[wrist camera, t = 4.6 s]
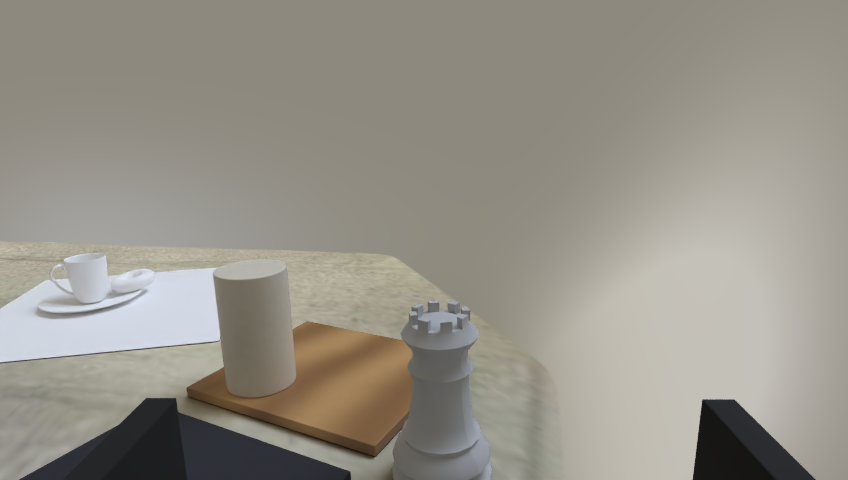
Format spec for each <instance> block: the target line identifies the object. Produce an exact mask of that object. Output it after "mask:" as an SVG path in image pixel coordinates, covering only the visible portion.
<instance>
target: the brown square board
mask: <svg viewBox="0 0 848 480" xmlns="http://www.w3.org/2000/svg"><path fill="white" fill-rule="evenodd" d="M292 331H293V343H294V354H295V366H296V379H295V381H294V382H293V383H292V384H291V385H290V386H289V387H288V388H286V389H284V390H282V391H280V392H278V393H275V394H272V395H269V396H264V397H257V398H244V397H238V396H235V395H233V394H231V393H230V392H229V391H228V390H227V388H226V380H225V371H224V367H223V368H221V369H220V370H218V371H216V372H214V373H212V374H211V375H209V376H207V377H205V378H203V379H201V380H200V381H198V382H196V383H194V384H192V385H191V386H189V387H187V393H188V397H192V398H195V399H198V400H201V401H204V402H207V403H210V404H213V405H217V406H220V407H223V408H226V409H229V410H232V411H235V412H238V413H241V414H245V415H248V416H251V417H254V418H257V419H260V420H263V421H266V422H269V423H273V424H276V425H279V426H282V427H285V428H288V429H291V430H294V431H298V432H301V433H304V434H307V435H310V436H313V437H316V438H319V439H322V440H326V441H329V442H332V443H335V444H338V445H341V446H344V447H347V448H350V449H354V450H357V451H360V452H363V453H366V454H369V455H372V456H376V455H377V454H378V453H379V452H380V451H381V450H382V449H383V448H384V447H385V446H386V444H387V443H388V442H389V441H390V440H391V439H392V438H393V437H394V436H395V435H396V434H397V433H398V432H399V430H400V429H401V428H402V427H403V425H404V423H405V421H406V420H407V419H408V417H409V411H410V403H411V395H412V375H411V374H410V373H409V371H408V368H407V365H408V363H409V361H410V360H411V358H412V350H411V349H410V348H409V347H408V345H407V344H406V343H405V342H404V341H403V340H398V339H393V338H388V337H383V336H378V335H373V334H368V333H363V332H358V331H353V330H348V329H343V328H338V327H333V326H328V325H323V324H318V323H313V322H308V321H307V322H305V323H303V324H301V325H300V326H298V327H296V328H294V329H292Z"/></svg>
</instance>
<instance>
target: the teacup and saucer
mask: <svg viewBox="0 0 848 480" xmlns="http://www.w3.org/2000/svg"><path fill="white" fill-rule="evenodd" d="M56 268H61V269H63V270H65V271H66V273H67V276H68V279H67V280H68V283H69V286H70V288H64V287H63V286H61V285H60V284H59V283H58V282H57V280H55V279H54V277H53V275H52V272H53V270H55V269H56ZM49 275H50V278H51V282H52V283H53V284H54V285H55V286H56V287H57V288H58V289H59V290H60V291H57V292H54V293H52V294H50V295H48V296H46V297H44V298H43V299H41V300H40V301H39V302H38V304H37V308H38V309H39V310H40V311H42V312H45V313H51V314H72V313H82V312H89V311H95V310H100V309H104V308H108V307H112V306H115V305H118V304H121V303H124V302H127V301H129V300H131V299H133V298H135V297H137V296H138V295H139V294H140V293H141V292H142V291H143V289H144V288H146V287H148V286H150V285H151V284H152V283H153V282H154V280H155V273H154V272H152V271H151V270H149V269H138V270H133V271H129V272H126V273H123V274H121V275H117V276H116V277H115V278H113V279H112V280H111V281H109V276H108V272H107V262H106V255H105V254H103V253H88V254H81V255H76V256H72V257H69V258H66V259H65V260H64V264H59V265H56V266H54V267H53V268H52V269H51V270H50V273H49Z"/></svg>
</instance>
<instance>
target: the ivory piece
mask: <svg viewBox="0 0 848 480" xmlns="http://www.w3.org/2000/svg"><path fill="white" fill-rule="evenodd" d="M213 280H214V288H215V297H216V305H217V313H218V322H219V330H220V338H221V346H222V355H223V363H224V371H225V380H226V388H227V390H228V391H229V392H230V393H231V394H233V395H235V396H238V397H244V398H257V397H264V396H269V395H272V394H275V393H278V392H280V391H282V390H284V389H286V388H288V387H289V386H290V385H291V384H292V383H293V382H294V381H295V379H296V366H295V354H294V343H293V331H292V319H291V307H290V296H289V284H288V272H287V265H286V263H284V262H282V261H279V260H273V259H251V260H243V261H237V262H233V263H229V264H226V265H223V266H221V267H219V268H217V269H215V270H214V272H213Z"/></svg>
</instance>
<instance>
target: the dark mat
mask: <svg viewBox="0 0 848 480" xmlns="http://www.w3.org/2000/svg"><path fill="white" fill-rule="evenodd" d="M178 417H179V424H180V431H181V438H182V445H183V452H184V459H185V466H186V474H187V480H351V473H350V471H347V470H344V469H341V468H338V467H335V466H332V465H329V464H327V463H324V462H321V461H318V460H315V459H312V458H309V457H306V456H303V455H300V454H298V453H295V452H292V451H289V450H286V449H283V448H280V447H277V446H274V445H271V444H268V443H266V442H263V441H260V440H257V439H254V438H251V437H248V436H245V435H242V434H239V433H237V432H234V431H231V430H228V429H225V428H222V427H219V426H216V425H213V424H210V423H208V422H205V421H202V420H199V419H196V418H193V417H190V416H187V415H184V414H181V413H179V412H178ZM116 427H117V426H116ZM116 427H114V428H112V429H110V430H109V431H107V432H105V433H103V434H101V435H100V436H98V437H96V438H94V439H92V440H90V441H89V442H87V443H85V444H83V445H81V446H80V447H78V448H76V449H74V450H72V451H70V452H69V453H67V454H65V455H63V456H61V457H60V458H58V459H56V460H54V461H52V462H50V463H49V464H47V465H45V466H43V467H41V468H40V469H38V470H36V471H34V472H32V473H30V474H29V475H27V476H25V477H23V478H21V479H20V480H63V479H64V478H65V477H66V476H67V475H68V474H69V473H70V472H71V471H72V470H73V469H74V468H75V467H76V466H77V465H78V464H79V463H80V462H81V461H82V460H83V459H84V458H85V457H86V456H87V455H89V454H90V453H91V452H92V451H93V450H94V449H95V448H96V447H97V446H98V445H99V444H100V443H101V442H102V441H103V440H104V439H105V438H106V437H107V436H108V435H109V434H110V433H111V432H112V431H113V430H114V429H115V428H116Z"/></svg>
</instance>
